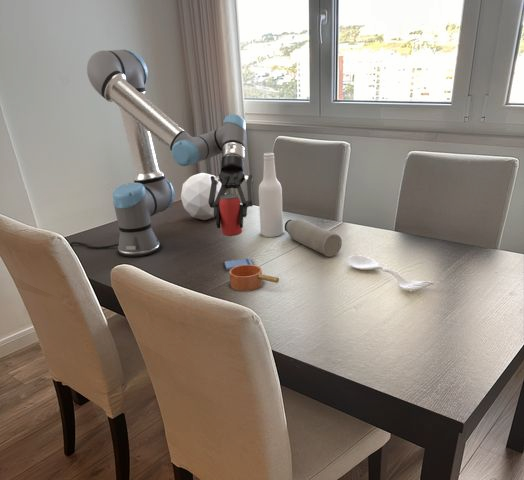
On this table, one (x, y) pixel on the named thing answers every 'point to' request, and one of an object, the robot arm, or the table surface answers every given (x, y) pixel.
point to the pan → (245, 277)
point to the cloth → (237, 263)
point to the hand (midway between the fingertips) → (229, 225)
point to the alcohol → (270, 200)
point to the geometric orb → (198, 196)
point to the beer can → (230, 214)
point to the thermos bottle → (314, 237)
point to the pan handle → (268, 278)
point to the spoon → (370, 264)
